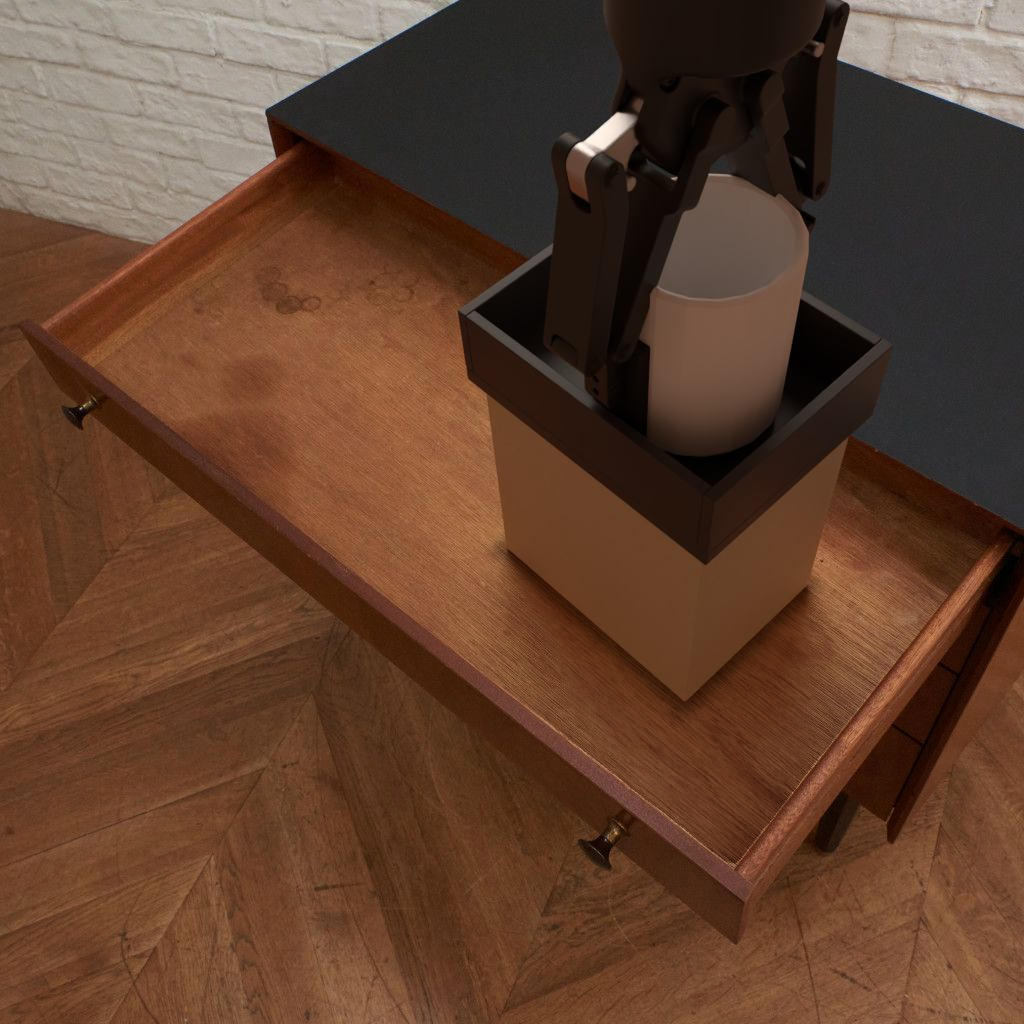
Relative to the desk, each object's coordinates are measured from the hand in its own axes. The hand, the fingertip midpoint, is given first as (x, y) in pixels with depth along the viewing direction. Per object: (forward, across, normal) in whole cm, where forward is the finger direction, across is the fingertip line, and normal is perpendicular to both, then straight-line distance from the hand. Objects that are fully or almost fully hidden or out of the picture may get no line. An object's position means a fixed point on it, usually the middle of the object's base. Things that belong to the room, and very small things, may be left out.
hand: (683, 380), depth 55 cm
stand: (+18, 0, -1) cm, 18 cm away
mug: (0, 0, -1) cm, 1 cm away
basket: (+2, 0, -1) cm, 2 cm away
